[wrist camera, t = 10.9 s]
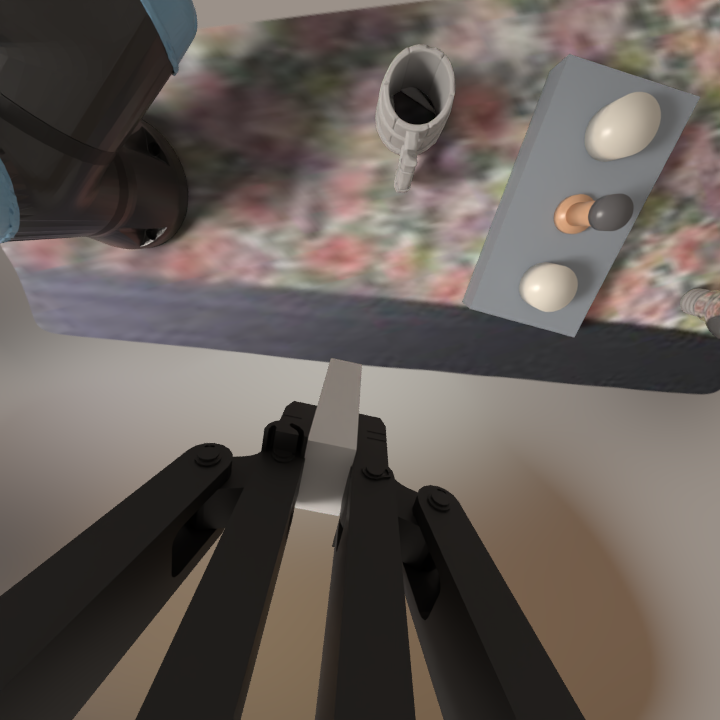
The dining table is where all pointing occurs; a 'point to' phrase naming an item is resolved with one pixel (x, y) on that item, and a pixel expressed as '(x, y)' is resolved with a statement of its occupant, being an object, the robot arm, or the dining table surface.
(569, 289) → the knob
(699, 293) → the light bulb
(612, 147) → the knob
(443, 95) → the mug
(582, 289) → the panel
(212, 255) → the dining table surface
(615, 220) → the ball
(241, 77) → the dining table surface
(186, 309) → the dining table surface
